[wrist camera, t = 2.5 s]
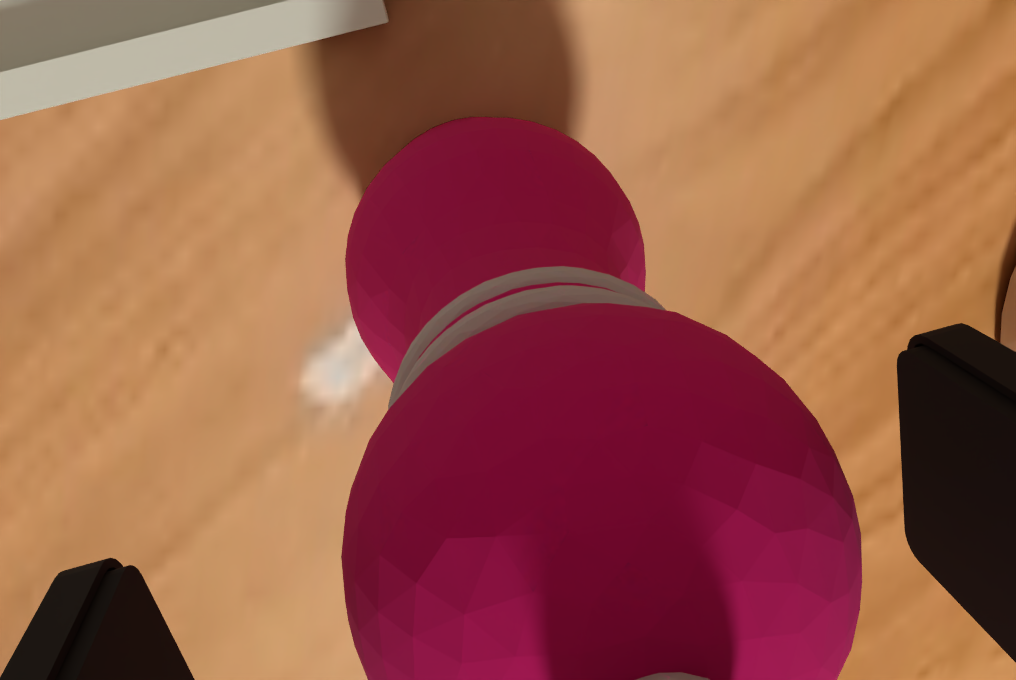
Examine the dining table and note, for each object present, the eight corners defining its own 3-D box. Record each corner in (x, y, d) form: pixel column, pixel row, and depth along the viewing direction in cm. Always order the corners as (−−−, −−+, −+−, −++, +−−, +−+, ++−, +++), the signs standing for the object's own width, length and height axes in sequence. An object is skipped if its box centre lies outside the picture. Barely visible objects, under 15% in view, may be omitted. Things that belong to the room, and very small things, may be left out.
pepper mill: (342, 102, 23) (121, 518, 5) (603, 92, 24) (1304, 418, 5) (364, 348, 26) (282, 1223, 7) (599, 332, 27) (1053, 1093, 8)
